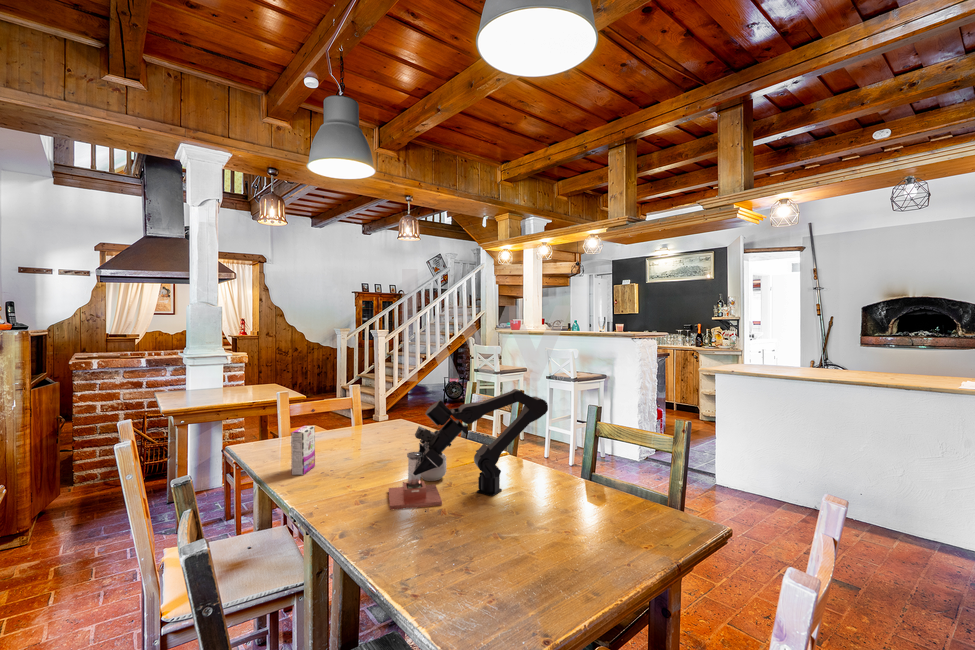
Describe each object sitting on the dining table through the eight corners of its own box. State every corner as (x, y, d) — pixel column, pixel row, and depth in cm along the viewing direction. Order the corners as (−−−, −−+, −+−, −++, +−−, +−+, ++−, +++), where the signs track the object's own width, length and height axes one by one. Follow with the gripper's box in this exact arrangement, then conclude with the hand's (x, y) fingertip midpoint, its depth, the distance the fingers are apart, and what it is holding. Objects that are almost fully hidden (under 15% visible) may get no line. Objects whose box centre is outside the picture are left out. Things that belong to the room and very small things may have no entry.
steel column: (420, 490, 151) (421, 451, 151) (422, 495, 147) (422, 455, 147) (406, 491, 150) (406, 452, 150) (407, 496, 146) (407, 456, 146)
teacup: (432, 485, 160) (432, 463, 160) (410, 479, 167) (411, 457, 167) (457, 475, 171) (458, 454, 172) (437, 470, 178) (437, 449, 178)
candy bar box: (303, 466, 182) (303, 425, 182) (315, 466, 182) (315, 425, 182) (290, 475, 170) (290, 431, 171) (303, 475, 170) (303, 432, 170)
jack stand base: (435, 487, 158) (435, 475, 158) (441, 505, 143) (442, 491, 143) (388, 491, 154) (388, 479, 154) (390, 509, 139) (390, 496, 139)
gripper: (426, 413, 159) (394, 446, 156) (433, 424, 141) (396, 461, 138) (448, 434, 161) (416, 467, 158) (457, 448, 143) (422, 486, 140)
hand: (412, 470), depth 148 cm, fingers open, 9 cm apart
